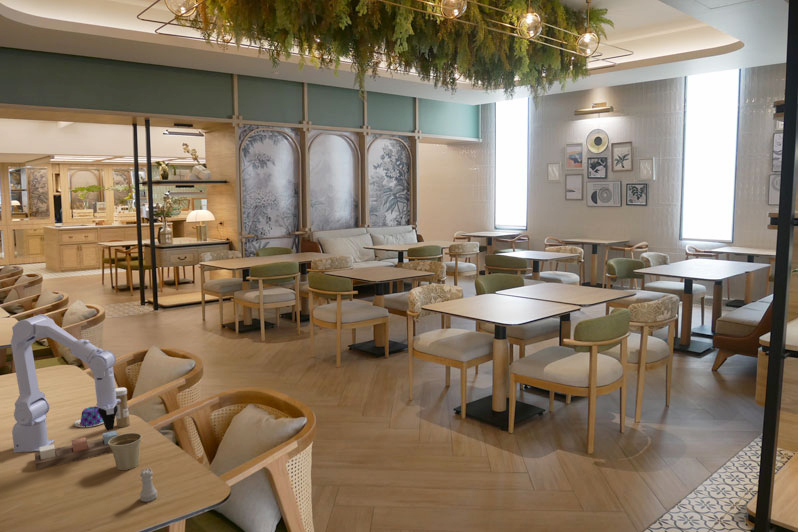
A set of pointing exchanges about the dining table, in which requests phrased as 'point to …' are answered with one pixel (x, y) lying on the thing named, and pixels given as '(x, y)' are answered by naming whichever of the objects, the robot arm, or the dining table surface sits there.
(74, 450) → the brick key
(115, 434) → the blue key
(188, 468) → the dining table surface
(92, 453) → the board
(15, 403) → the robot arm
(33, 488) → the dining table surface
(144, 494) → the rook chess piece
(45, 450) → the white key
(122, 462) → the flower pot
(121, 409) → the sprinkles bottle
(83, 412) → the purple domed brimmed piece
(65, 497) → the dining table surface
